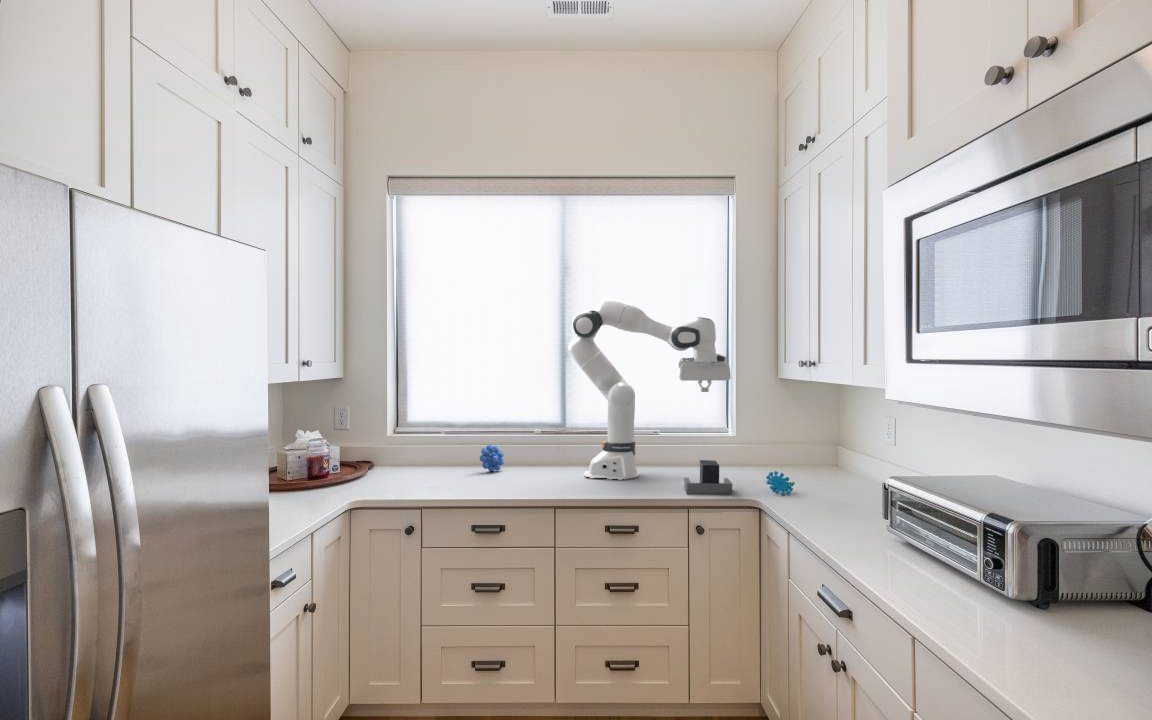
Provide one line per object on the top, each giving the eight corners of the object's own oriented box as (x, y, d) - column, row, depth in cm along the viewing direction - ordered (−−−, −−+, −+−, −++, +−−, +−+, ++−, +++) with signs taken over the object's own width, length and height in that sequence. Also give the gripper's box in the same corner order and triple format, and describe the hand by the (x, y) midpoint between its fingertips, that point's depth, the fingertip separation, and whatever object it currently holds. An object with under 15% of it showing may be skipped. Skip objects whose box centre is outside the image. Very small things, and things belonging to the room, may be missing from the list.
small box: (720, 494, 213) (720, 464, 213) (701, 493, 214) (701, 464, 214) (716, 487, 224) (716, 459, 224) (699, 487, 225) (698, 459, 225)
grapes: (484, 475, 250) (484, 446, 250) (477, 472, 255) (477, 444, 255) (508, 472, 256) (508, 444, 256) (501, 469, 262) (501, 442, 262)
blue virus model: (772, 492, 208) (764, 468, 215) (764, 501, 212) (757, 478, 219) (800, 495, 210) (791, 471, 217) (792, 504, 214) (784, 480, 221)
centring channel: (687, 494, 213) (686, 483, 213) (684, 488, 223) (684, 477, 223) (732, 494, 212) (732, 483, 212) (727, 488, 222) (727, 478, 222)
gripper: (679, 357, 238) (679, 392, 238) (731, 357, 236) (731, 392, 236) (677, 357, 244) (678, 391, 244) (728, 357, 242) (728, 391, 242)
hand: (704, 391), depth 240 cm, fingers closed
